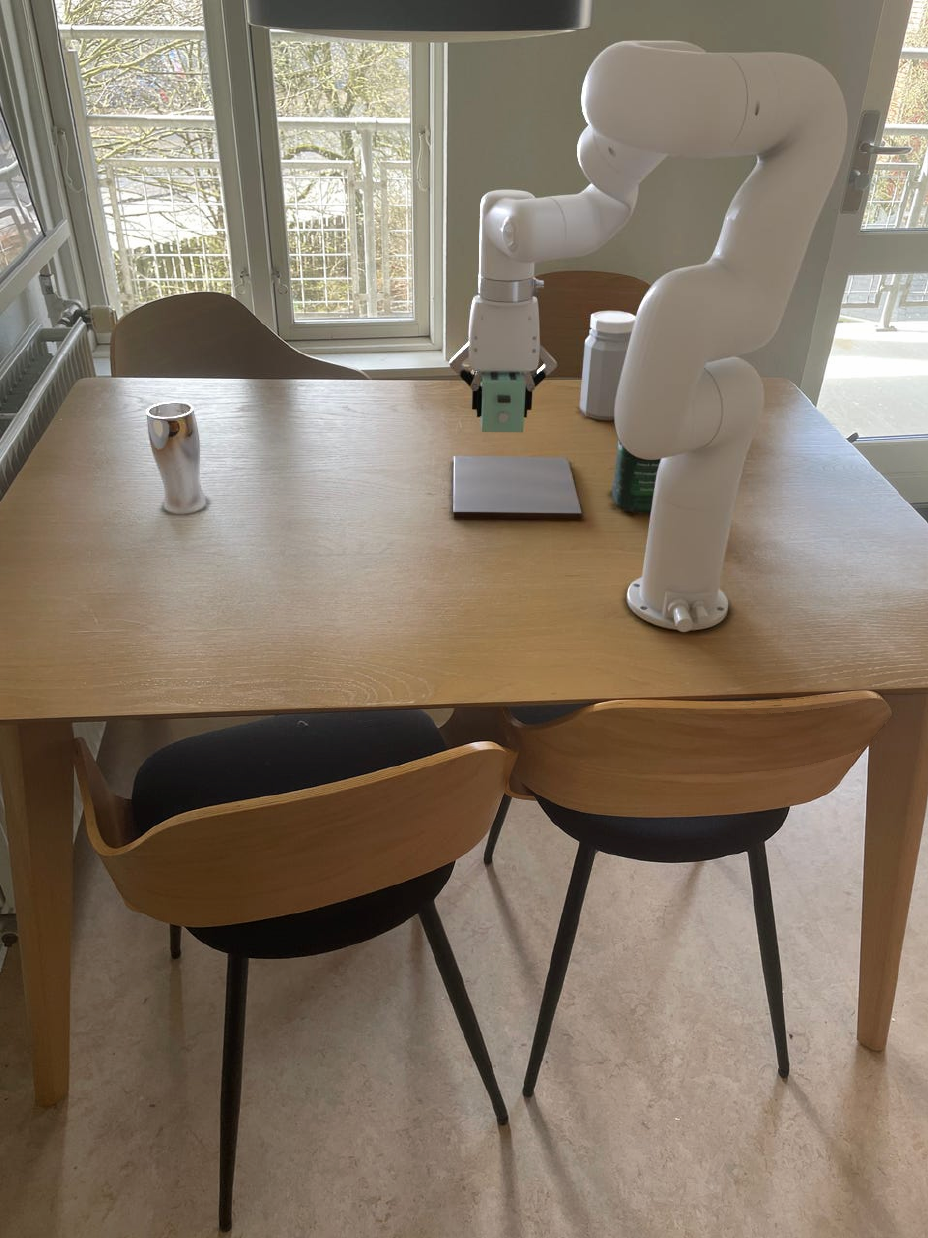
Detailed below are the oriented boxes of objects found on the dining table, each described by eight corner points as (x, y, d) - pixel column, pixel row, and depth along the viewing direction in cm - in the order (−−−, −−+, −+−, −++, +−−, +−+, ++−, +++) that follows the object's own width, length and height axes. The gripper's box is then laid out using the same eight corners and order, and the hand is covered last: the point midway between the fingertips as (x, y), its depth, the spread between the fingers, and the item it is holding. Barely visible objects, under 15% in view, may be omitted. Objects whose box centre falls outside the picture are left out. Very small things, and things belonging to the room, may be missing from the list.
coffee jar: (668, 516, 139) (686, 396, 129) (615, 515, 139) (630, 395, 129) (658, 489, 147) (675, 374, 137) (608, 488, 147) (621, 373, 137)
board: (581, 520, 138) (581, 513, 137) (453, 518, 137) (453, 511, 137) (567, 463, 155) (567, 457, 155) (453, 462, 155) (454, 455, 154)
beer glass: (218, 505, 140) (204, 409, 132) (178, 520, 136) (161, 422, 127) (192, 491, 144) (177, 397, 136) (152, 505, 139) (134, 409, 131)
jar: (573, 404, 179) (581, 309, 170) (622, 403, 180) (633, 308, 171) (584, 422, 171) (593, 324, 162) (636, 421, 172) (647, 323, 163)
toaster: (480, 409, 142) (481, 361, 138) (519, 410, 142) (521, 361, 138) (482, 435, 133) (483, 384, 129) (523, 435, 133) (526, 384, 129)
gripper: (565, 283, 131) (556, 405, 141) (443, 281, 131) (443, 404, 140) (571, 296, 125) (561, 423, 134) (443, 294, 124) (443, 422, 134)
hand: (501, 413), depth 137 cm, fingers closed on toaster, 6 cm apart
